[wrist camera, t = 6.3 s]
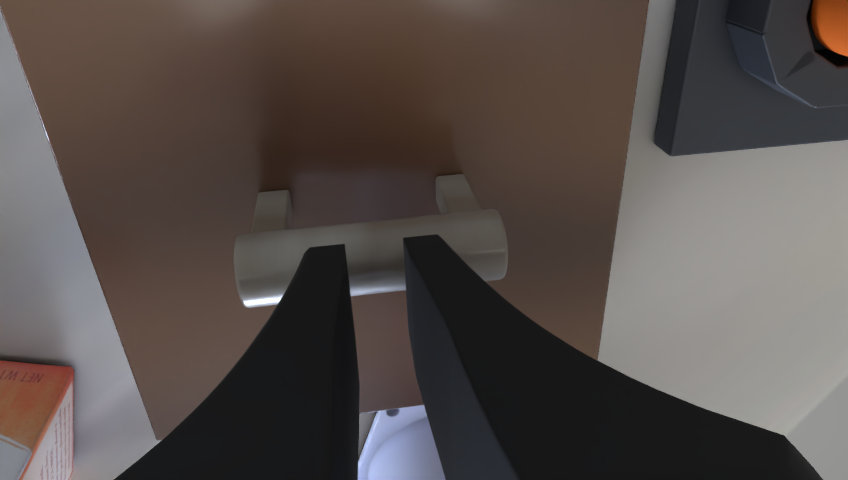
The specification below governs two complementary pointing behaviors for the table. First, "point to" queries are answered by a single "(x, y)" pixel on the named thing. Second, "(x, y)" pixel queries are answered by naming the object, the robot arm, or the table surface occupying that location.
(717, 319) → the table surface
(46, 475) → the cracker box
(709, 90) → the panel
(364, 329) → the lid
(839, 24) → the release button
